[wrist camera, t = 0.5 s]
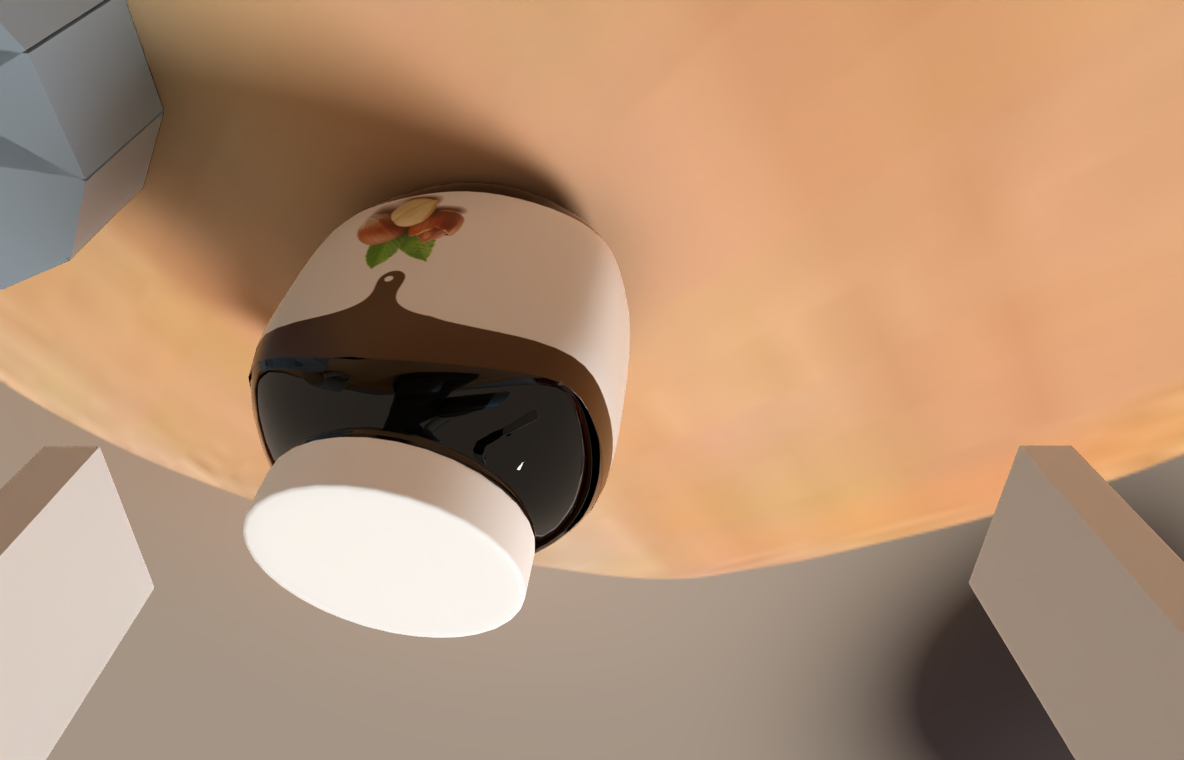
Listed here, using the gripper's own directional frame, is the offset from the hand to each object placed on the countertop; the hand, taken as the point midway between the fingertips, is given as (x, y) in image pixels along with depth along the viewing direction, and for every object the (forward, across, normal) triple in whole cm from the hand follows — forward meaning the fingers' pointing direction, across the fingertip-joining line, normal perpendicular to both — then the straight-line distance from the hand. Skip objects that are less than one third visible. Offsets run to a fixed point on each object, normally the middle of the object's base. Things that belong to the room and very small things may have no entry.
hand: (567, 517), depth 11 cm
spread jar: (+16, -3, -4) cm, 17 cm away
